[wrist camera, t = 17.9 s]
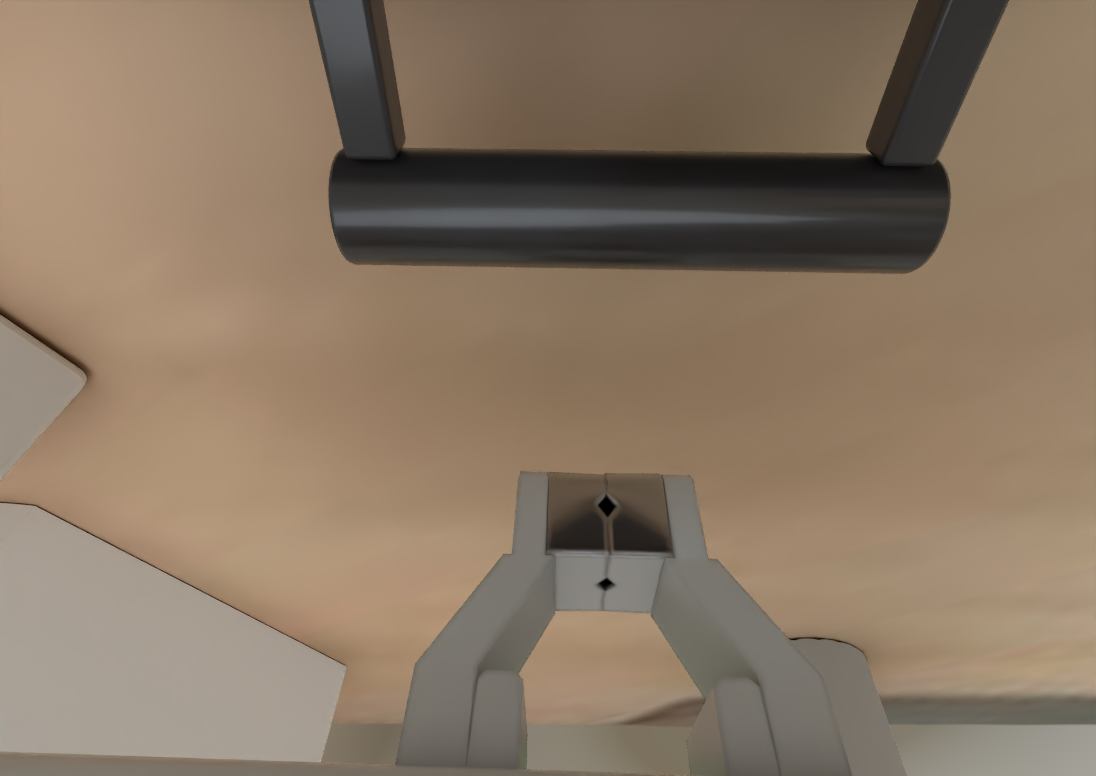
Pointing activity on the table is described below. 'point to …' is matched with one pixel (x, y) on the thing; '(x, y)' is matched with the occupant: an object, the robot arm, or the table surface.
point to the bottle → (855, 707)
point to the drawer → (649, 176)
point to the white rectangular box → (143, 659)
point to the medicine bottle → (30, 390)
